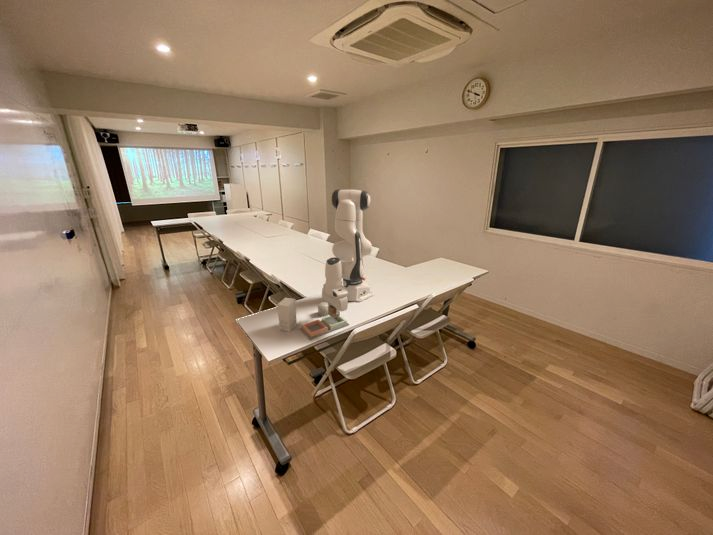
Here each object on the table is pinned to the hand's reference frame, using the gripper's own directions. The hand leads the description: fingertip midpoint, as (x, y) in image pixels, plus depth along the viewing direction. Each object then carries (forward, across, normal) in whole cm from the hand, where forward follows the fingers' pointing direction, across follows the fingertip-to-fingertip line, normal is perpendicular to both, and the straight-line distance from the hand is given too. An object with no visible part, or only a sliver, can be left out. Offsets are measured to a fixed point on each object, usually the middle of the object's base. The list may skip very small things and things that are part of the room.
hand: (334, 311), depth 149 cm
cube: (+2, 0, 0) cm, 2 cm away
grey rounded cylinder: (+7, -13, +1) cm, 15 cm away
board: (+8, 0, -6) cm, 9 cm away
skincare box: (+8, -12, -22) cm, 26 cm away
